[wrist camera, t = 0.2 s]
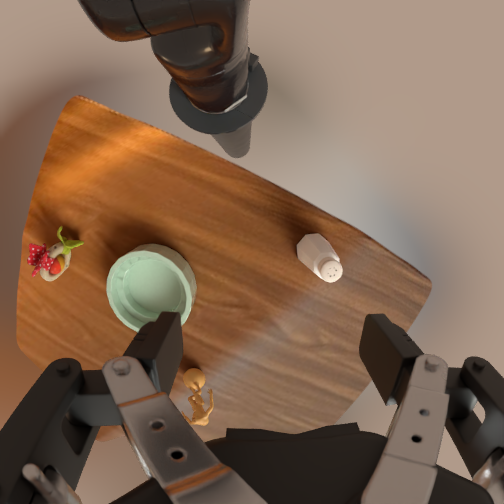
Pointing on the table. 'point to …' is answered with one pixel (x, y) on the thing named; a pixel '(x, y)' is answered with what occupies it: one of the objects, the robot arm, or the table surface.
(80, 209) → the table surface
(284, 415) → the table surface
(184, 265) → the bowl
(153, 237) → the table surface
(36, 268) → the bird rattle
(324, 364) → the table surface
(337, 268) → the pepper shaker
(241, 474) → the robot arm
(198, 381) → the figurine
